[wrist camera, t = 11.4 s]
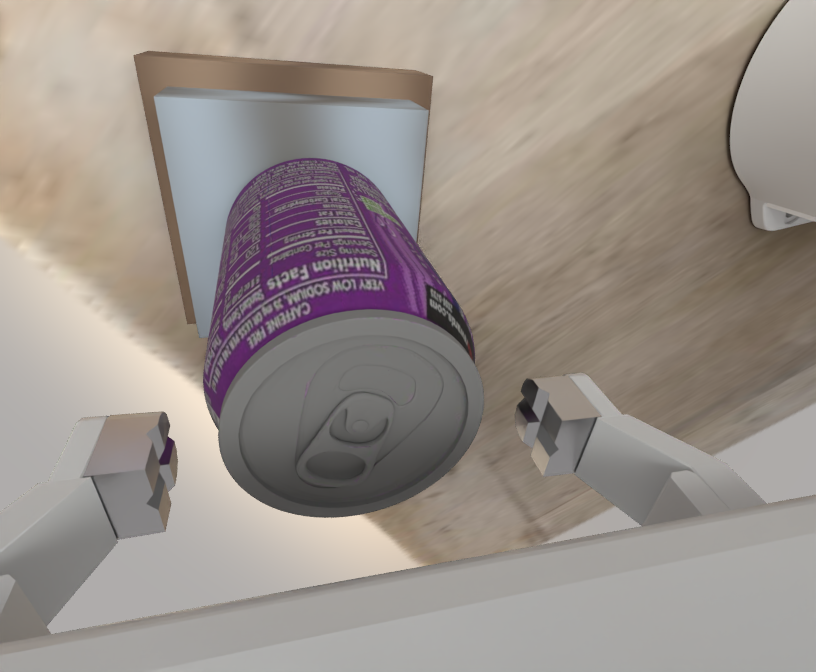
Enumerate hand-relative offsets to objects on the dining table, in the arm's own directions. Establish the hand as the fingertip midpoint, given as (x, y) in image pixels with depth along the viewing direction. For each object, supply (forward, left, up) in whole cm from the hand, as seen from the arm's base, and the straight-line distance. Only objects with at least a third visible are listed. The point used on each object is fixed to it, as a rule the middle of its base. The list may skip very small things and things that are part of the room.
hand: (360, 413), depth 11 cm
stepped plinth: (0, 0, -18) cm, 18 cm away
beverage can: (0, 0, -12) cm, 12 cm away
